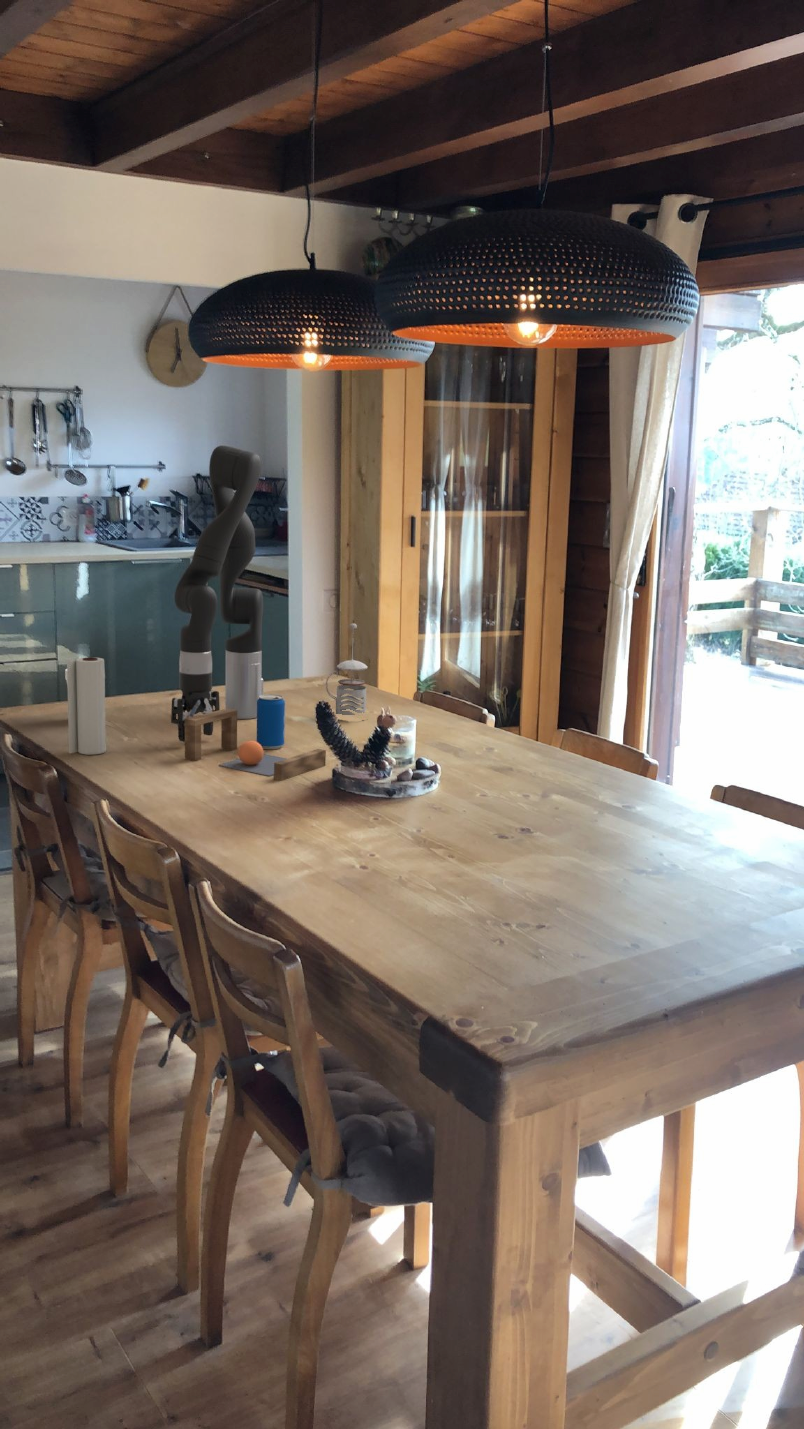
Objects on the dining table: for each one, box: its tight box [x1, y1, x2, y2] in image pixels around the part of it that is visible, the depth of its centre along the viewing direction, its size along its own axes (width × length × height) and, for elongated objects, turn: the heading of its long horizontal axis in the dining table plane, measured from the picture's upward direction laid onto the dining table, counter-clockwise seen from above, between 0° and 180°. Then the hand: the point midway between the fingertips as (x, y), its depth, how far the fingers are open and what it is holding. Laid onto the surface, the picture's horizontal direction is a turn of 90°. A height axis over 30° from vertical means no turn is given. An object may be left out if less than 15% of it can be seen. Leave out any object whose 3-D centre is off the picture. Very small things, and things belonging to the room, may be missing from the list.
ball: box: [237, 740, 265, 765], centre depth 262 cm, size 6×6×6 cm
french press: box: [325, 623, 369, 715], centre depth 311 cm, size 10×12×25 cm
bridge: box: [184, 708, 238, 762], centre depth 270 cm, size 3×14×9 cm, turn 148°
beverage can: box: [256, 693, 286, 750], centre depth 279 cm, size 6×6×12 cm
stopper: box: [273, 748, 327, 781], centre depth 258 cm, size 16×2×4 cm, turn 148°
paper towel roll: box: [66, 656, 107, 756], centre depth 267 cm, size 7×6×21 cm
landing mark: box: [218, 753, 288, 777], centre depth 264 cm, size 14×14×1 cm
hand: (195, 738), depth 280 cm, fingers open, 8 cm apart
